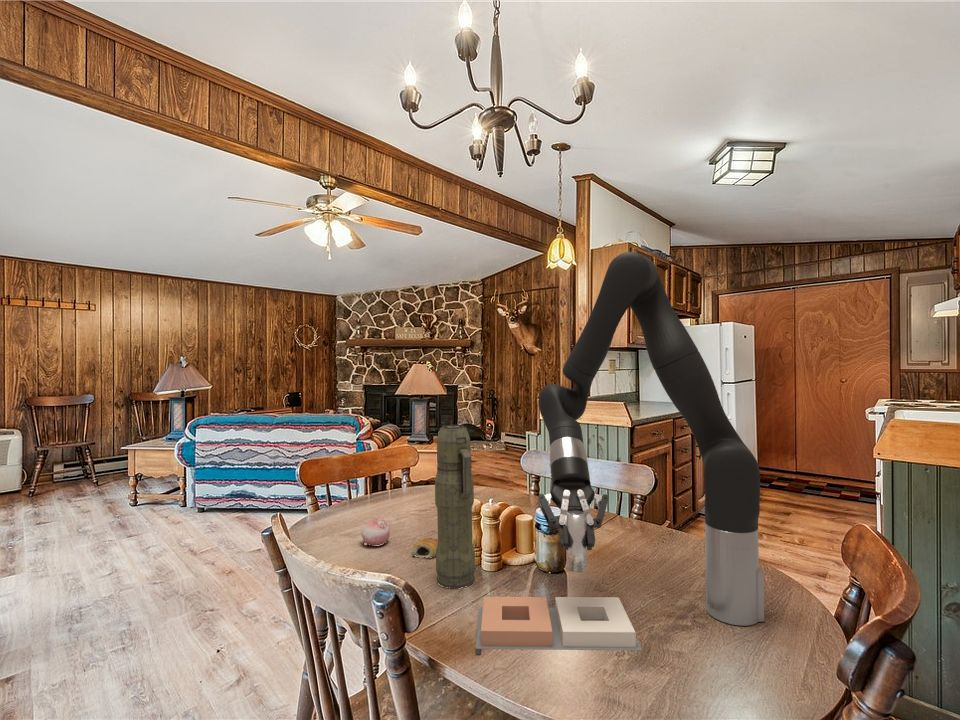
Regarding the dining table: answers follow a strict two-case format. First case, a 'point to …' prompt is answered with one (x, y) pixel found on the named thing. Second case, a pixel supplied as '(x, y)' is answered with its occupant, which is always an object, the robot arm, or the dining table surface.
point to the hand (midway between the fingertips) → (578, 547)
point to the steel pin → (577, 541)
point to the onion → (376, 531)
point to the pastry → (425, 547)
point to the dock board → (555, 624)
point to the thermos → (454, 508)
